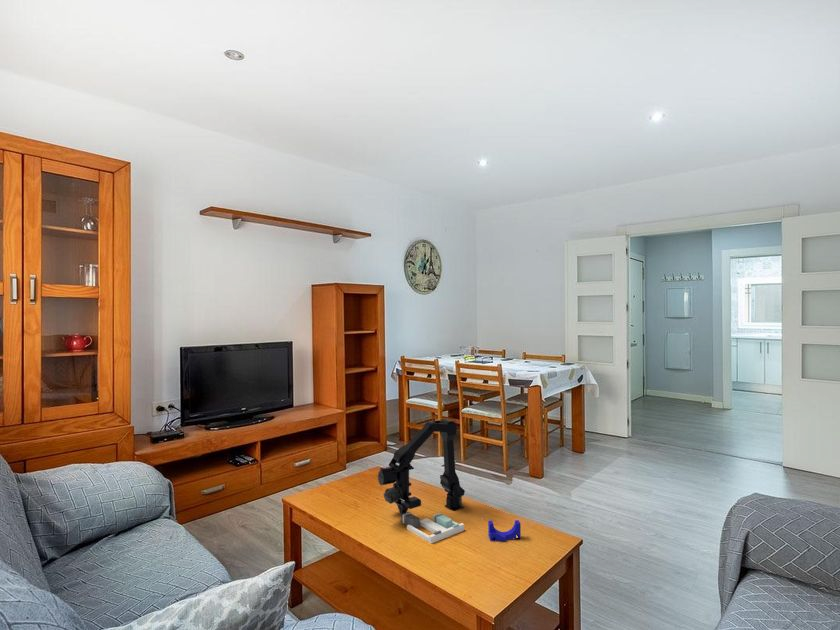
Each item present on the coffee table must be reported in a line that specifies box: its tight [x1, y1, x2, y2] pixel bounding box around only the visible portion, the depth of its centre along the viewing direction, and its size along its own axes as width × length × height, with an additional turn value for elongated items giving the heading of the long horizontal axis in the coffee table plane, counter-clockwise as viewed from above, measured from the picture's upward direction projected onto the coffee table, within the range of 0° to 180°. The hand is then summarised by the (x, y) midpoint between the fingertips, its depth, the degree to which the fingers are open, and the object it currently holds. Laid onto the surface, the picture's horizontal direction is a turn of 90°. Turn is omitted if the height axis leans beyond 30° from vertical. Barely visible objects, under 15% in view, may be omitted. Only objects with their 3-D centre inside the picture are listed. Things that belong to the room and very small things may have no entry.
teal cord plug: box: [432, 512, 453, 529], centre depth 194 cm, size 4×8×4 cm, turn 38°
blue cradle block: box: [487, 519, 522, 542], centre depth 183 cm, size 12×4×6 cm, turn 91°
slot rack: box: [406, 517, 465, 544], centre depth 190 cm, size 17×15×3 cm
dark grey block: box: [400, 511, 421, 529], centre depth 195 cm, size 4×8×4 cm, turn 38°
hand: (402, 517), depth 199 cm, fingers closed
